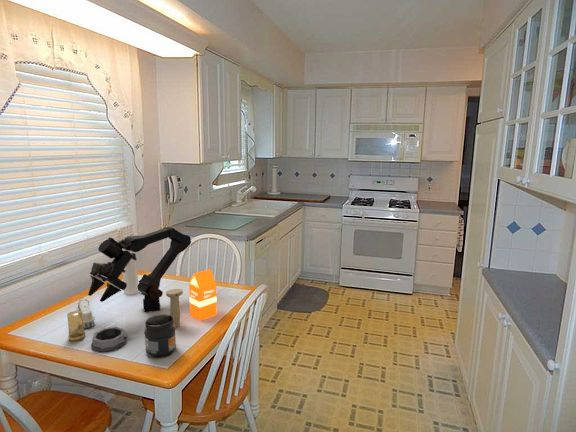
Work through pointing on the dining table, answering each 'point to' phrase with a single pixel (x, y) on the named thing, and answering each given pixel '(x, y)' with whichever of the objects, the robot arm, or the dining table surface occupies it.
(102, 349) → the collar fitting
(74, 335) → the gold bulb-shaped piece
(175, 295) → the handle
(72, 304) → the dining table surface
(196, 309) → the orange juice
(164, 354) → the supplement container
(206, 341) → the dining table surface
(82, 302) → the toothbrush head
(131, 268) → the spray bottle
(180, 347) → the dining table surface
